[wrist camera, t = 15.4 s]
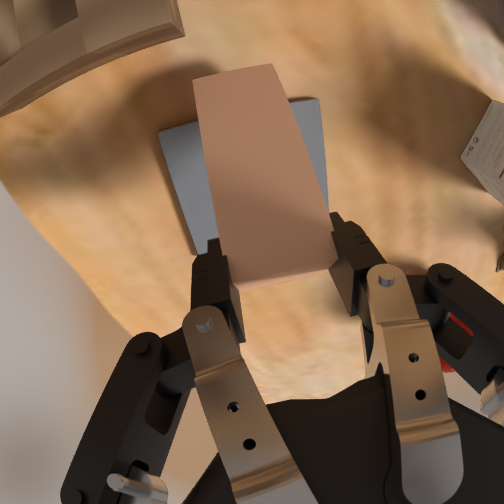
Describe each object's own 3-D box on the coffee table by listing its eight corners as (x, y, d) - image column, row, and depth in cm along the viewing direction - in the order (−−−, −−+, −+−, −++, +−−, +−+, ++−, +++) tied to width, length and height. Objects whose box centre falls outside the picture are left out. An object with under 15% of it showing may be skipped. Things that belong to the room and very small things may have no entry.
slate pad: (158, 131, 17) (157, 133, 16) (315, 98, 17) (318, 99, 16) (200, 255, 23) (200, 260, 22) (327, 227, 23) (329, 231, 22)
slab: (204, 115, 15) (192, 79, 12) (272, 101, 15) (272, 63, 12) (238, 293, 13) (228, 284, 10) (326, 272, 13) (341, 258, 10)
